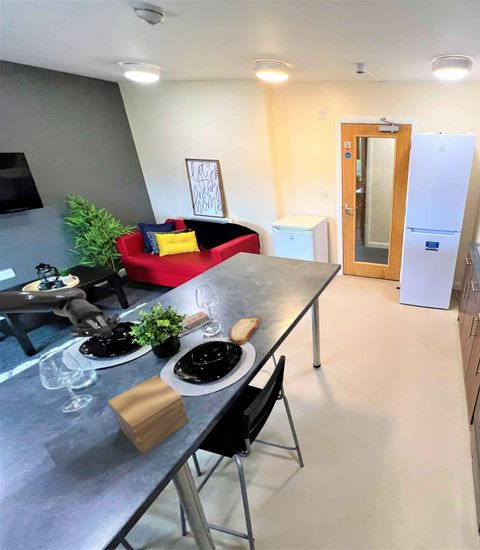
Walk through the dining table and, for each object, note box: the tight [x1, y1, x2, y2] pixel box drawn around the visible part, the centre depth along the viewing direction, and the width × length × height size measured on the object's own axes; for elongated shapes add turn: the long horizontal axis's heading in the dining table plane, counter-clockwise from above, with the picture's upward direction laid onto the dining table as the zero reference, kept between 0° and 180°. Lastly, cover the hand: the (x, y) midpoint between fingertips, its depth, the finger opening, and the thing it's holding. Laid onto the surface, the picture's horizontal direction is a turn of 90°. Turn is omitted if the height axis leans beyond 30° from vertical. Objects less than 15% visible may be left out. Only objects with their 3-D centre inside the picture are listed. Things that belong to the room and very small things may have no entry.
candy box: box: [108, 398, 189, 455], centre depth 93 cm, size 16×14×13 cm
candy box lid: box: [107, 374, 183, 429], centre depth 90 cm, size 16×14×1 cm
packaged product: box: [178, 311, 213, 338], centre depth 148 cm, size 18×5×10 cm
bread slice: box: [229, 317, 260, 345], centre depth 147 cm, size 18×18×4 cm
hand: (107, 334), depth 90 cm, fingers closed
